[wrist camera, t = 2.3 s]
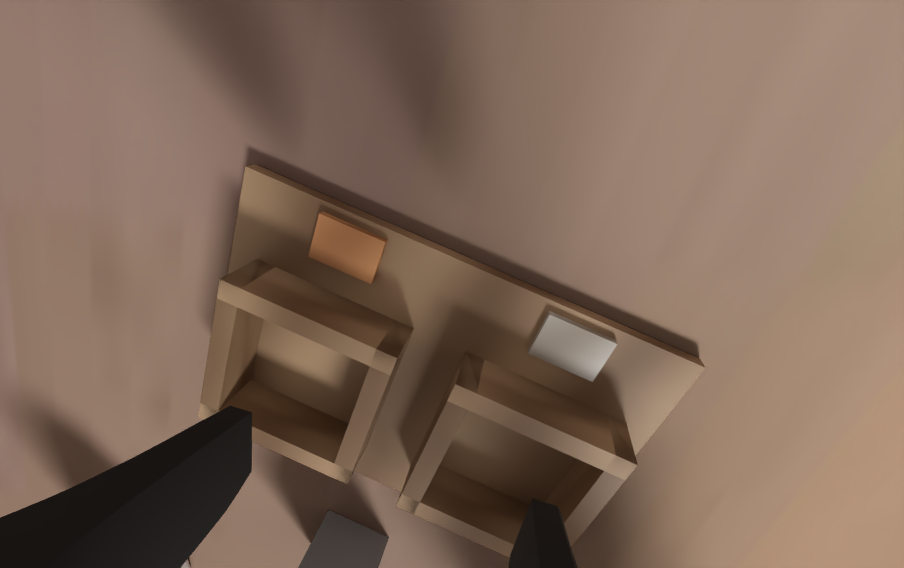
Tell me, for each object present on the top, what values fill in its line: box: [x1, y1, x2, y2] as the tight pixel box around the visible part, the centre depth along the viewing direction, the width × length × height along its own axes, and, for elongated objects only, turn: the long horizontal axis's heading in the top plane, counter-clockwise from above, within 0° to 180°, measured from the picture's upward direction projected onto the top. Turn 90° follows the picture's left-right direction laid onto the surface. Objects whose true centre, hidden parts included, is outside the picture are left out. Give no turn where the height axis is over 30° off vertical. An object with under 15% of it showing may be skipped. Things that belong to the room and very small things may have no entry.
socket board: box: [198, 164, 705, 558], centre depth 17 cm, size 18×12×3 cm, turn 69°
